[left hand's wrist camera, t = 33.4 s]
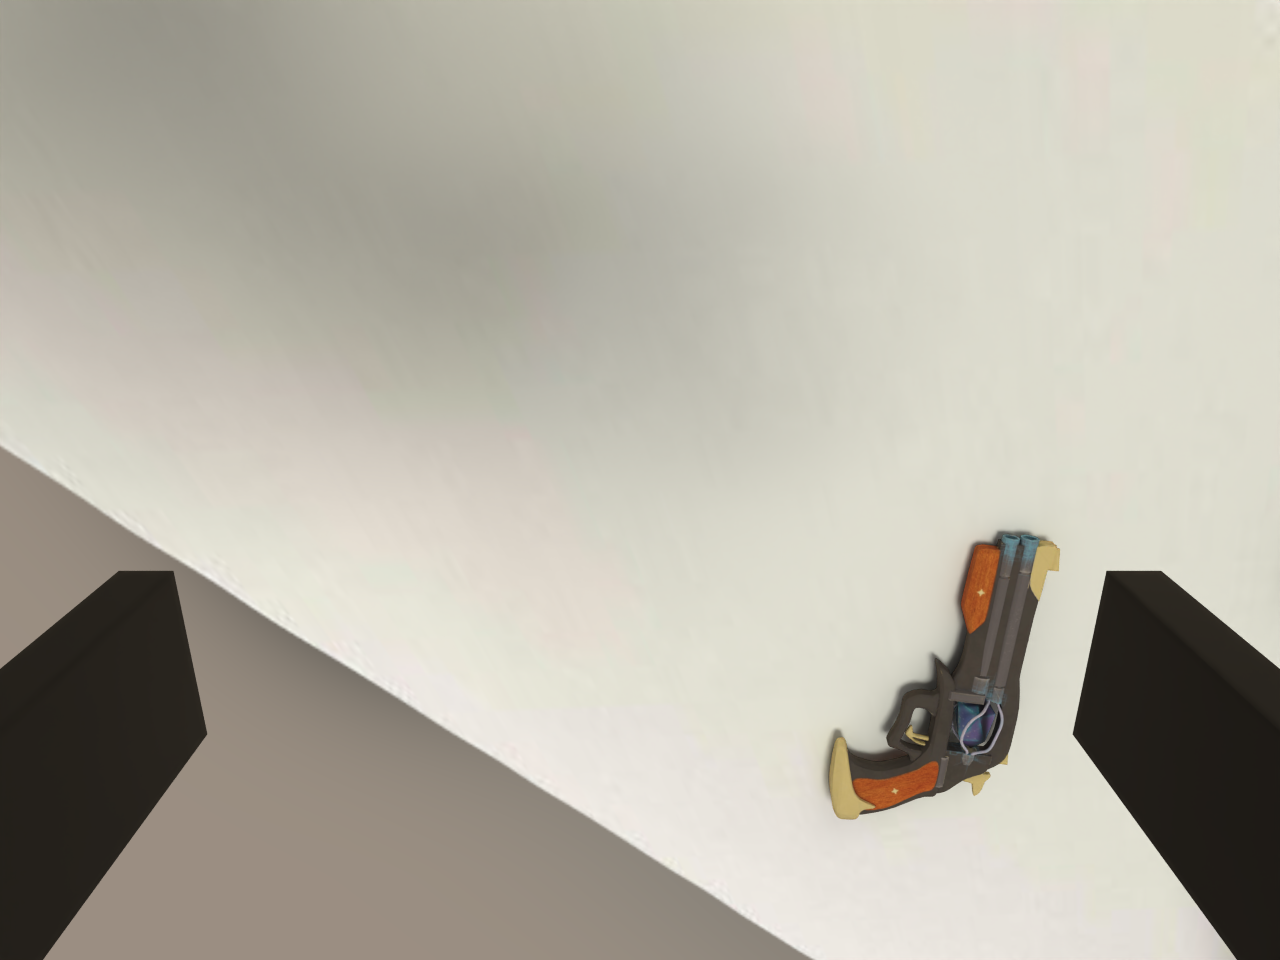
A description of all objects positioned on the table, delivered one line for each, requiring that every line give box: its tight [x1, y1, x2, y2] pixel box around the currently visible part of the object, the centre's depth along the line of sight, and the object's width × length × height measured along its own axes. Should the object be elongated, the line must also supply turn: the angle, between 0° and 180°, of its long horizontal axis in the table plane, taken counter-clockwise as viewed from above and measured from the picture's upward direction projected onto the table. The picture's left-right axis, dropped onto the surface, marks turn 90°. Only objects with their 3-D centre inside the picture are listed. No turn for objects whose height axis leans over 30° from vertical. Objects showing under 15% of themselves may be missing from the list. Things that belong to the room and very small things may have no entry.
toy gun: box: [829, 534, 1060, 819], centre depth 51 cm, size 3×19×10 cm
